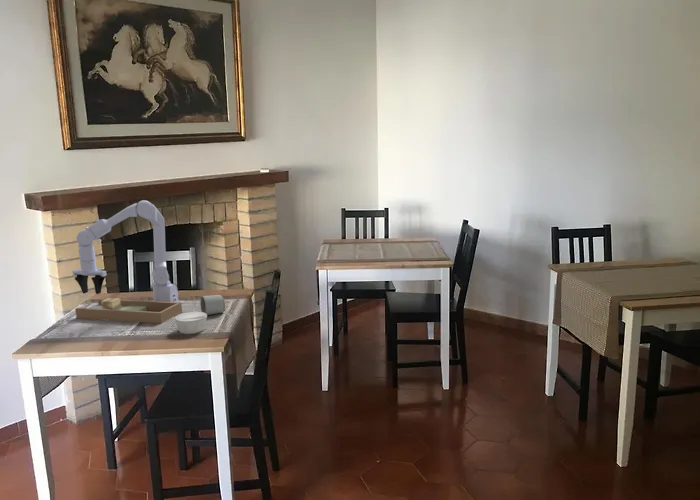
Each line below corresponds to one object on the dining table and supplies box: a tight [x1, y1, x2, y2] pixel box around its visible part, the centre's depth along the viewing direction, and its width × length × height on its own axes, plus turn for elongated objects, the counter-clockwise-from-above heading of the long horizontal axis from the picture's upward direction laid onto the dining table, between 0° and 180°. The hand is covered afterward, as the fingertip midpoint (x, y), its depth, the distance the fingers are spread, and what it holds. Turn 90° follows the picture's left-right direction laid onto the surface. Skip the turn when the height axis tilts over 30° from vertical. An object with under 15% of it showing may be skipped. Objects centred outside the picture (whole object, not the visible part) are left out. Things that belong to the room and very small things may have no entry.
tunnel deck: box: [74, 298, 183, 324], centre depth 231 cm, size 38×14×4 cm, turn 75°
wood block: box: [101, 297, 121, 310], centre depth 232 cm, size 5×5×4 cm
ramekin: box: [174, 311, 208, 335], centre depth 210 cm, size 11×11×5 cm
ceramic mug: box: [199, 294, 226, 316], centre depth 230 cm, size 11×8×8 cm
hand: (91, 293), depth 234 cm, fingers open, 6 cm apart
